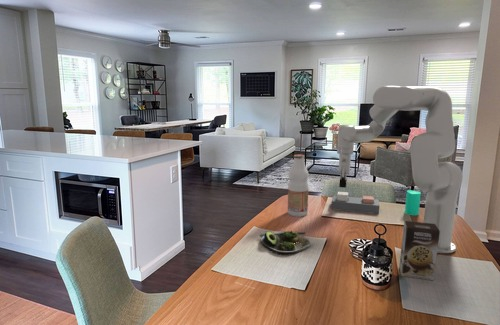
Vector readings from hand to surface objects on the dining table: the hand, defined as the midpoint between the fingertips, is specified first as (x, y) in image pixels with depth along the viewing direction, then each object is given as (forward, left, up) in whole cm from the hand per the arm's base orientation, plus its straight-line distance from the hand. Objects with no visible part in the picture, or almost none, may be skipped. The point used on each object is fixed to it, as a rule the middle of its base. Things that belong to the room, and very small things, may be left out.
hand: (342, 186), depth 166 cm
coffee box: (-35, -54, -11) cm, 65 cm away
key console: (+3, -5, -10) cm, 12 cm away
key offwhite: (0, 0, -7) cm, 7 cm away
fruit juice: (-25, +7, -11) cm, 28 cm away
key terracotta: (+7, -10, -8) cm, 15 cm away
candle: (+18, -26, -11) cm, 34 cm away
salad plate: (-53, -13, -11) cm, 55 cm away
